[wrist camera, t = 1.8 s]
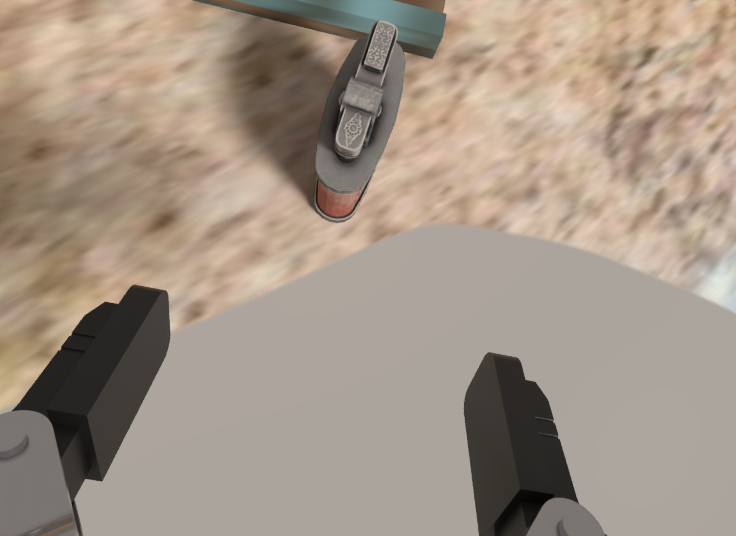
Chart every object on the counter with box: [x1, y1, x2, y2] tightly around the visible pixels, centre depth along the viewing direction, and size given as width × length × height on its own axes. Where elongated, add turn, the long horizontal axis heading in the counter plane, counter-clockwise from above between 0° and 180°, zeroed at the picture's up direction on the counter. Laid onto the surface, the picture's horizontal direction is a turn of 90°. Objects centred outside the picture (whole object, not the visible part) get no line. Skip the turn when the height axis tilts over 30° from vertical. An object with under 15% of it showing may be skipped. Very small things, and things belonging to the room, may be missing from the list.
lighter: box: [314, 20, 406, 223], centre depth 26 cm, size 8×3×10 cm, turn 163°
